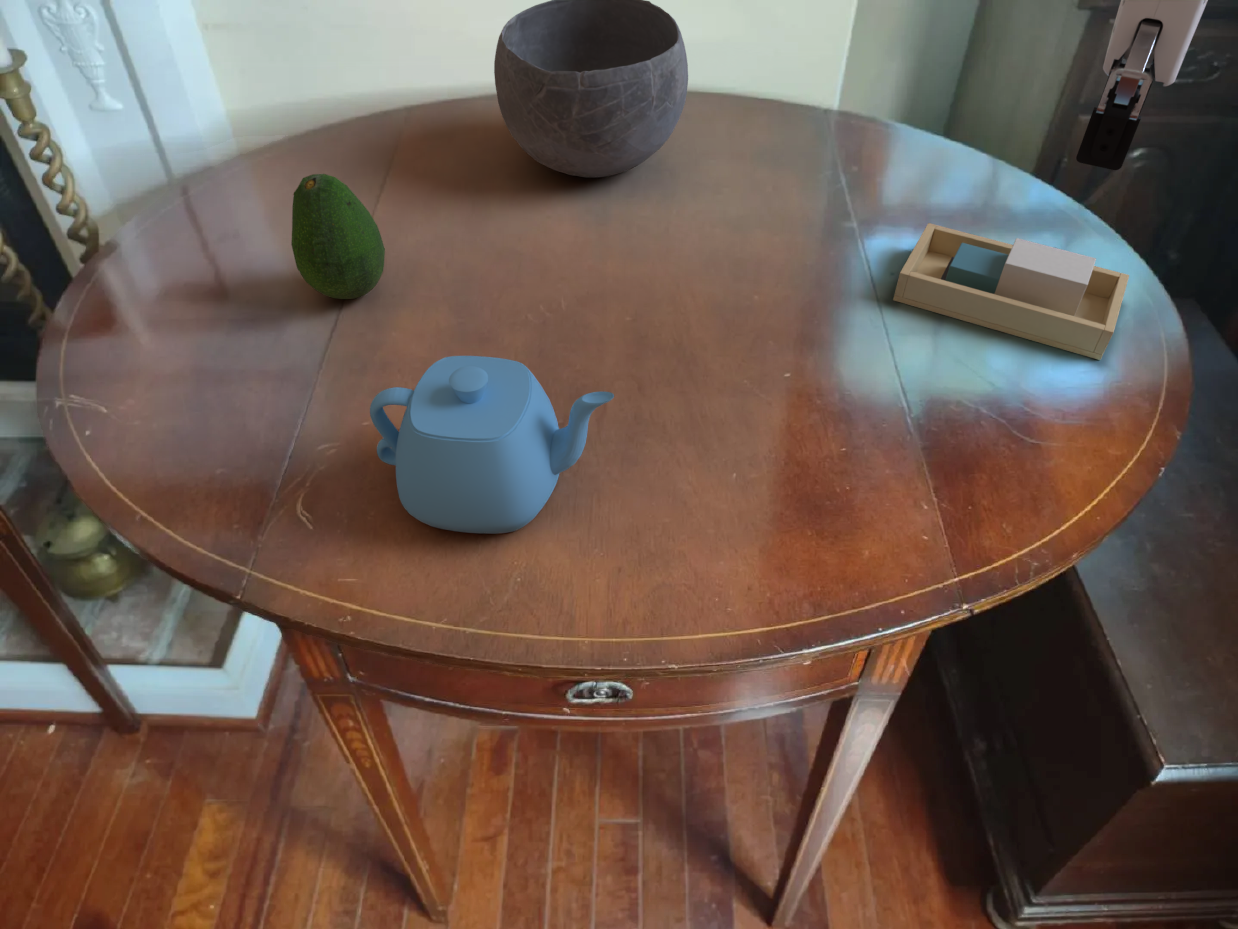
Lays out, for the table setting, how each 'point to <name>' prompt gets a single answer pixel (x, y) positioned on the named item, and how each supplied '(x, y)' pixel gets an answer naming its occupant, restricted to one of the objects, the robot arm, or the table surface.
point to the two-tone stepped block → (1024, 274)
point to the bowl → (591, 83)
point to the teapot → (479, 443)
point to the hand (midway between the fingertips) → (1108, 137)
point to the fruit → (335, 239)
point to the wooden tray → (1004, 314)
